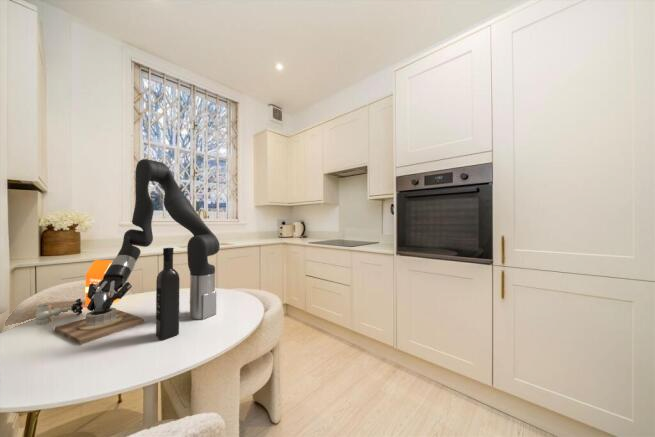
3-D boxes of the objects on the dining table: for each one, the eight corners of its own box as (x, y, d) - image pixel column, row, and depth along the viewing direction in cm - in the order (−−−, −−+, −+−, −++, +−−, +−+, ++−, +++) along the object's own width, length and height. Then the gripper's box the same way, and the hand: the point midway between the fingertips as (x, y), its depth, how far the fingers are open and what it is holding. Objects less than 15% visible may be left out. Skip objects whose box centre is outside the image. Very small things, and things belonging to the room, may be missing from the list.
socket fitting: (144, 322, 92) (144, 308, 92) (80, 344, 76) (80, 327, 76) (117, 313, 100) (117, 300, 100) (54, 331, 84) (54, 315, 84)
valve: (36, 327, 87) (82, 316, 97) (36, 309, 87) (82, 300, 97) (33, 323, 91) (78, 312, 101) (33, 305, 91) (78, 297, 101)
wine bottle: (161, 341, 78) (162, 249, 78) (154, 336, 82) (155, 248, 82) (180, 334, 83) (180, 248, 83) (173, 329, 86) (174, 246, 86)
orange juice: (103, 306, 108) (103, 262, 108) (84, 305, 108) (85, 261, 108) (119, 300, 115) (119, 259, 115) (102, 300, 116) (102, 258, 116)
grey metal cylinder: (111, 315, 90) (111, 290, 90) (103, 320, 86) (103, 294, 86) (99, 316, 90) (99, 291, 90) (90, 321, 86) (90, 294, 86)
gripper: (95, 264, 94) (67, 306, 82) (136, 263, 97) (114, 304, 85) (105, 274, 99) (80, 315, 88) (143, 273, 102) (124, 313, 90)
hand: (97, 309), depth 86 cm, fingers closed on grey metal cylinder, 4 cm apart
